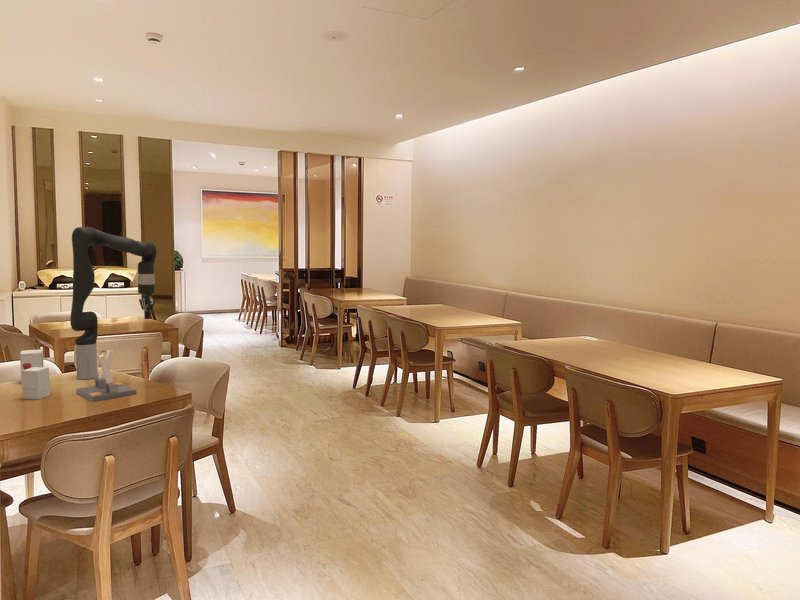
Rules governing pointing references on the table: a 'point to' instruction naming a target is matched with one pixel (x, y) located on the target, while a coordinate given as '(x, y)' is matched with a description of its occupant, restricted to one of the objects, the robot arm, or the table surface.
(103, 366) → the lever near
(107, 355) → the lever far
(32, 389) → the supplement box
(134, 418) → the table surface
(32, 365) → the supplement box
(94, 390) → the switch base
